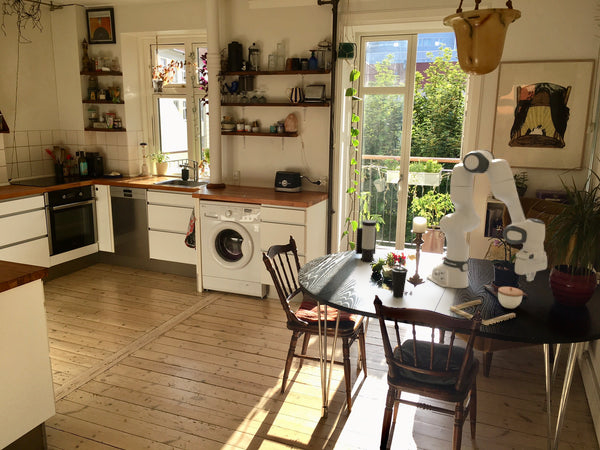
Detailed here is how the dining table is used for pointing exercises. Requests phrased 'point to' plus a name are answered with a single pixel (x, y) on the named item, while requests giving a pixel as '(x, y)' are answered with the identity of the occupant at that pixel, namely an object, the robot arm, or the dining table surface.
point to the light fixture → (366, 240)
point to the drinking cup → (399, 280)
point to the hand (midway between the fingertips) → (530, 280)
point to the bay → (467, 315)
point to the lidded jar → (509, 296)
